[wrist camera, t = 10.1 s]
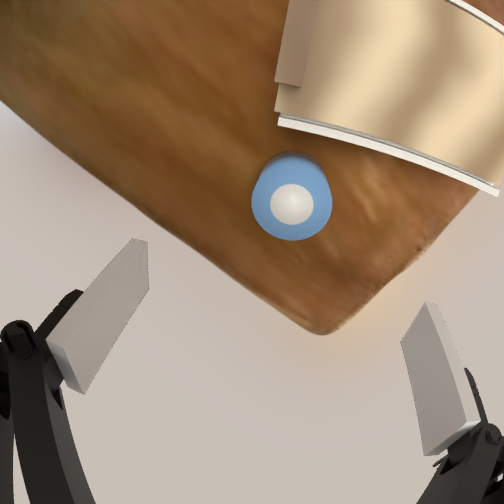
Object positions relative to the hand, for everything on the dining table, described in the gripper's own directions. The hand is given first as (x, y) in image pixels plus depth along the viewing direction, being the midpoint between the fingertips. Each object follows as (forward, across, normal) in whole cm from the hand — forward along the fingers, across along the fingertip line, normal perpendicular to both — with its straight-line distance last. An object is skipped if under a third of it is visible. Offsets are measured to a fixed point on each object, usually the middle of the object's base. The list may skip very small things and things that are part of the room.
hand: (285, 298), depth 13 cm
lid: (+8, +6, +12) cm, 16 cm away
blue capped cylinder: (+16, 0, 0) cm, 16 cm away
